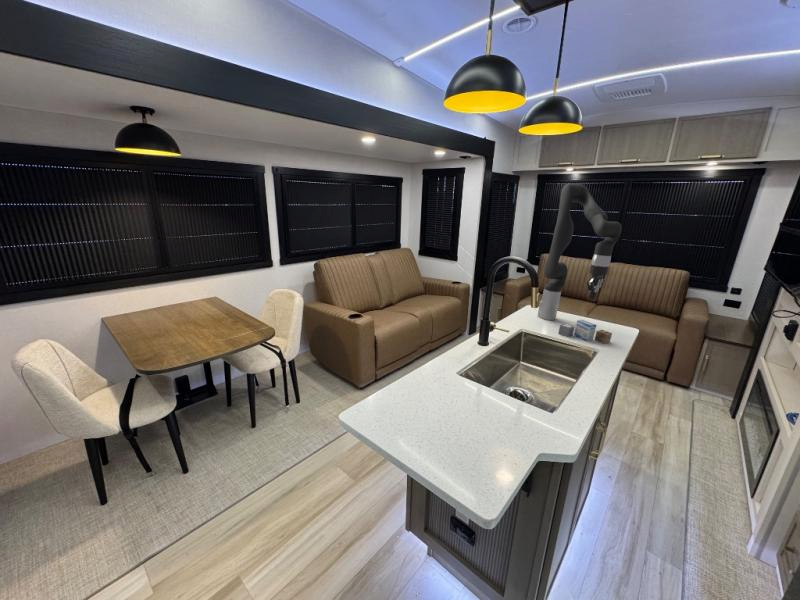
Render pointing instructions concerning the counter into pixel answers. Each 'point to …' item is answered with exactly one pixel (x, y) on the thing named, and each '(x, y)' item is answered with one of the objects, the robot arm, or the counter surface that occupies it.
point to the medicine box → (584, 330)
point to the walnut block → (603, 336)
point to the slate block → (566, 330)
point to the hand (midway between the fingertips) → (592, 298)
